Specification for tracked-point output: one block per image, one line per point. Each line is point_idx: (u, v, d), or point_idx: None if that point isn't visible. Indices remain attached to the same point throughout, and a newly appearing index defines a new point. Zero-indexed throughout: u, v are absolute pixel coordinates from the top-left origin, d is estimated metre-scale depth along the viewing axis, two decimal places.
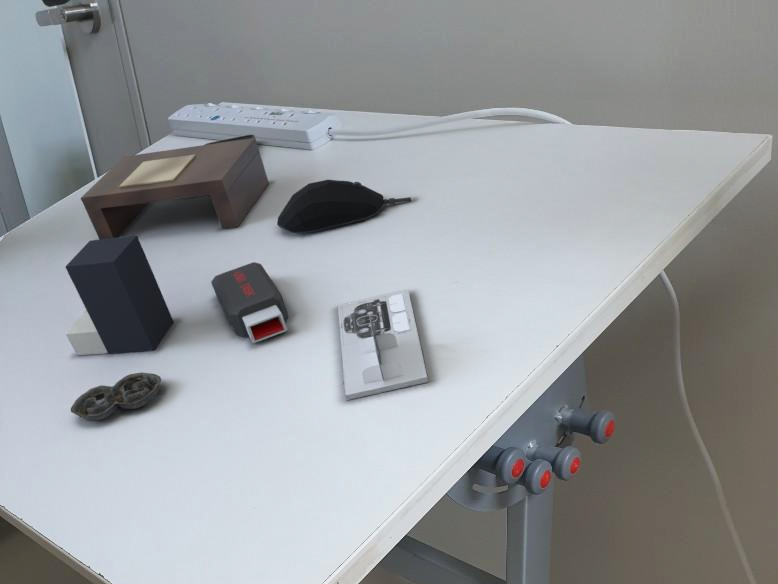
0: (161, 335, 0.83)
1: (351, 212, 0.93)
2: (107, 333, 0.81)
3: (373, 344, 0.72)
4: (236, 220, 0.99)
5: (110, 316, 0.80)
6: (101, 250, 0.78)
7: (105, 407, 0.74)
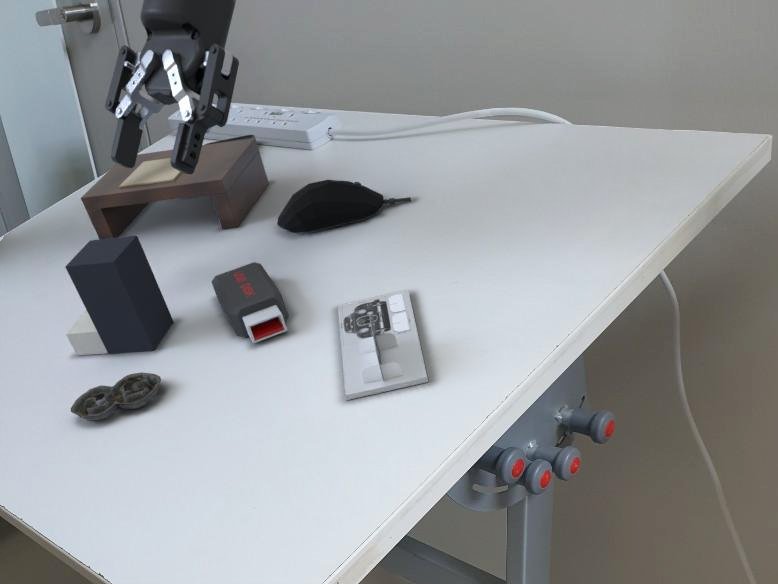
0: (161, 335, 0.83)
1: (351, 212, 0.93)
2: (107, 333, 0.81)
3: (373, 344, 0.72)
4: (236, 220, 0.99)
5: (110, 316, 0.80)
6: (101, 250, 0.78)
7: (105, 407, 0.74)
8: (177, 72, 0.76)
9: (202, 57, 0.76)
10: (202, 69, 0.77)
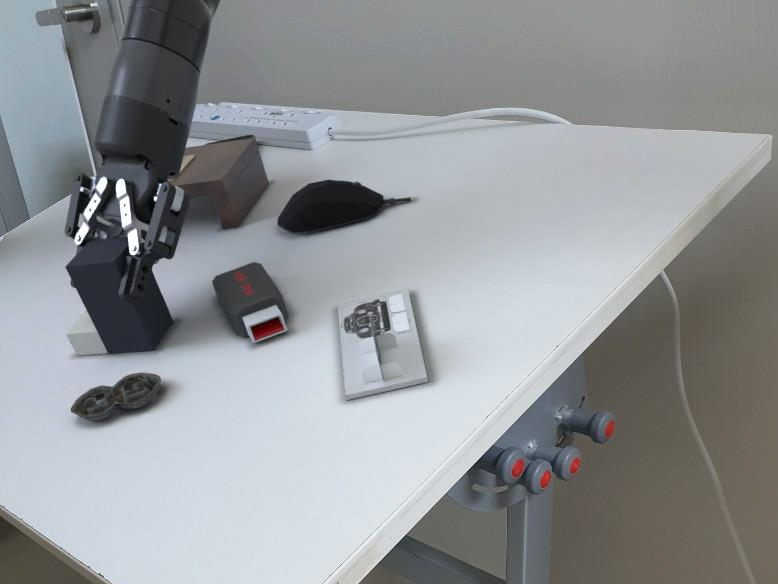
0: (161, 335, 0.83)
1: (351, 212, 0.93)
2: (107, 333, 0.81)
3: (373, 344, 0.72)
4: (236, 220, 0.99)
5: (110, 316, 0.80)
6: (101, 250, 0.78)
7: (105, 407, 0.74)
8: (128, 204, 0.76)
9: (155, 187, 0.76)
10: (154, 197, 0.77)
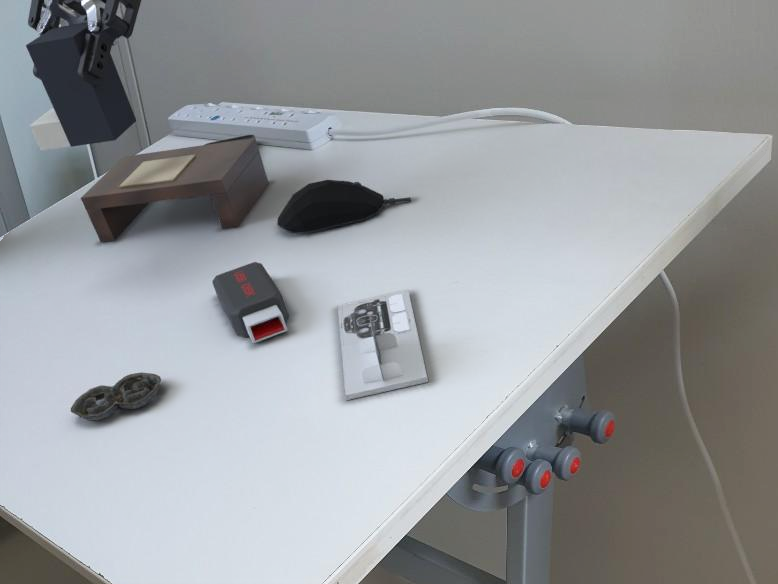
0: (122, 128, 0.84)
1: (351, 212, 0.93)
2: (69, 122, 0.83)
3: (373, 344, 0.72)
4: (236, 220, 0.99)
5: (71, 101, 0.81)
6: (61, 32, 0.79)
7: (105, 407, 0.74)
8: None
9: None
10: None
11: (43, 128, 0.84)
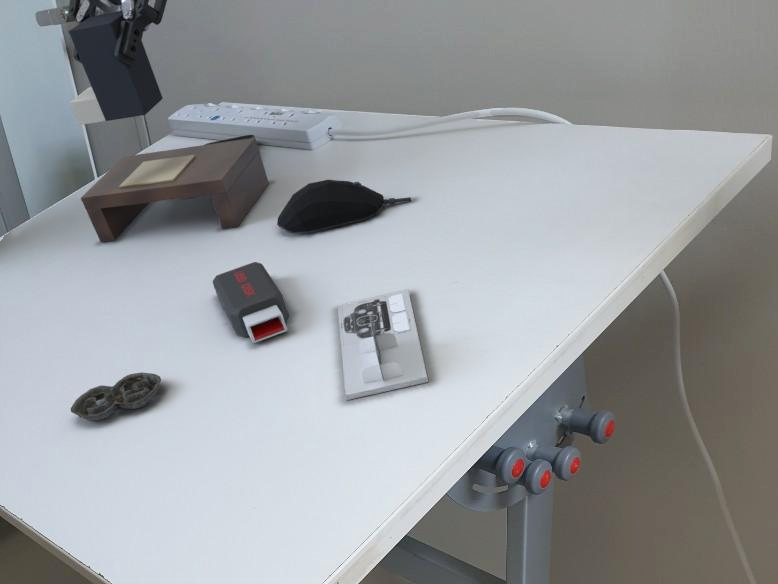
0: (151, 104, 0.96)
1: (351, 212, 0.93)
2: (105, 99, 0.94)
3: (373, 344, 0.72)
4: (236, 220, 0.99)
5: (107, 80, 0.93)
6: (99, 19, 0.91)
7: (105, 407, 0.74)
8: None
9: None
10: None
11: (81, 105, 0.95)
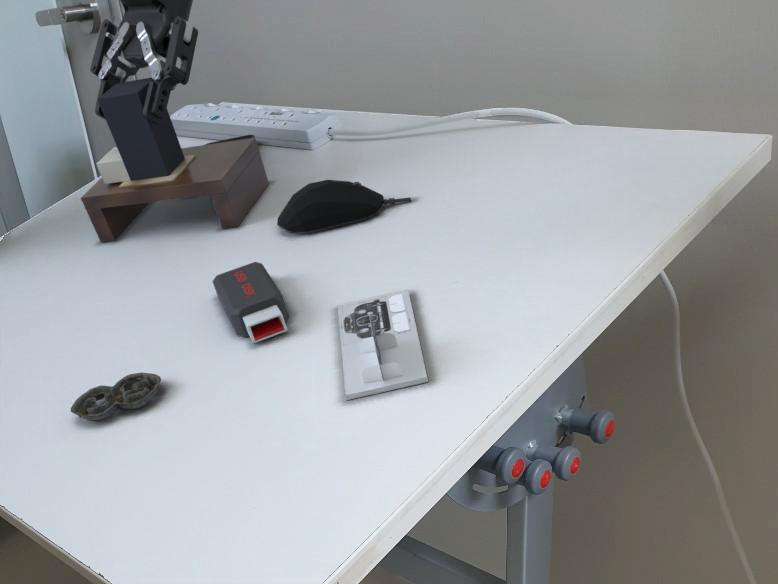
0: (174, 165, 1.00)
1: (351, 212, 0.93)
2: (130, 161, 0.99)
3: (373, 344, 0.72)
4: (236, 220, 0.99)
5: (133, 144, 0.97)
6: (126, 87, 0.96)
7: (105, 407, 0.74)
8: (148, 40, 0.93)
9: (168, 27, 0.93)
10: (168, 37, 0.94)
11: (108, 165, 1.00)
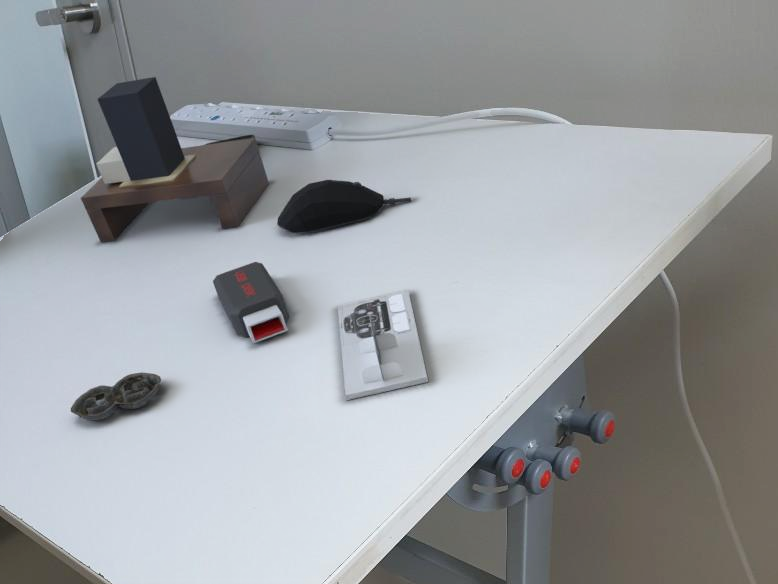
0: (174, 165, 1.00)
1: (351, 212, 0.93)
2: (130, 161, 0.99)
3: (373, 344, 0.72)
4: (236, 220, 0.99)
5: (133, 144, 0.97)
6: (126, 87, 0.96)
7: (105, 407, 0.74)
8: None
9: None
10: None
11: (108, 165, 1.00)
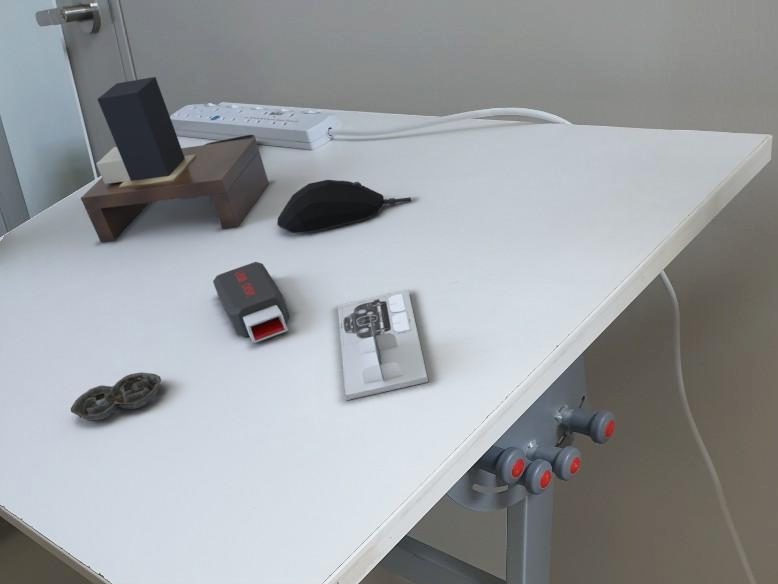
0: (174, 165, 1.00)
1: (351, 212, 0.93)
2: (130, 161, 0.99)
3: (373, 344, 0.72)
4: (236, 220, 0.99)
5: (133, 144, 0.97)
6: (126, 87, 0.96)
7: (105, 407, 0.74)
8: None
9: None
10: None
11: (108, 165, 1.00)
